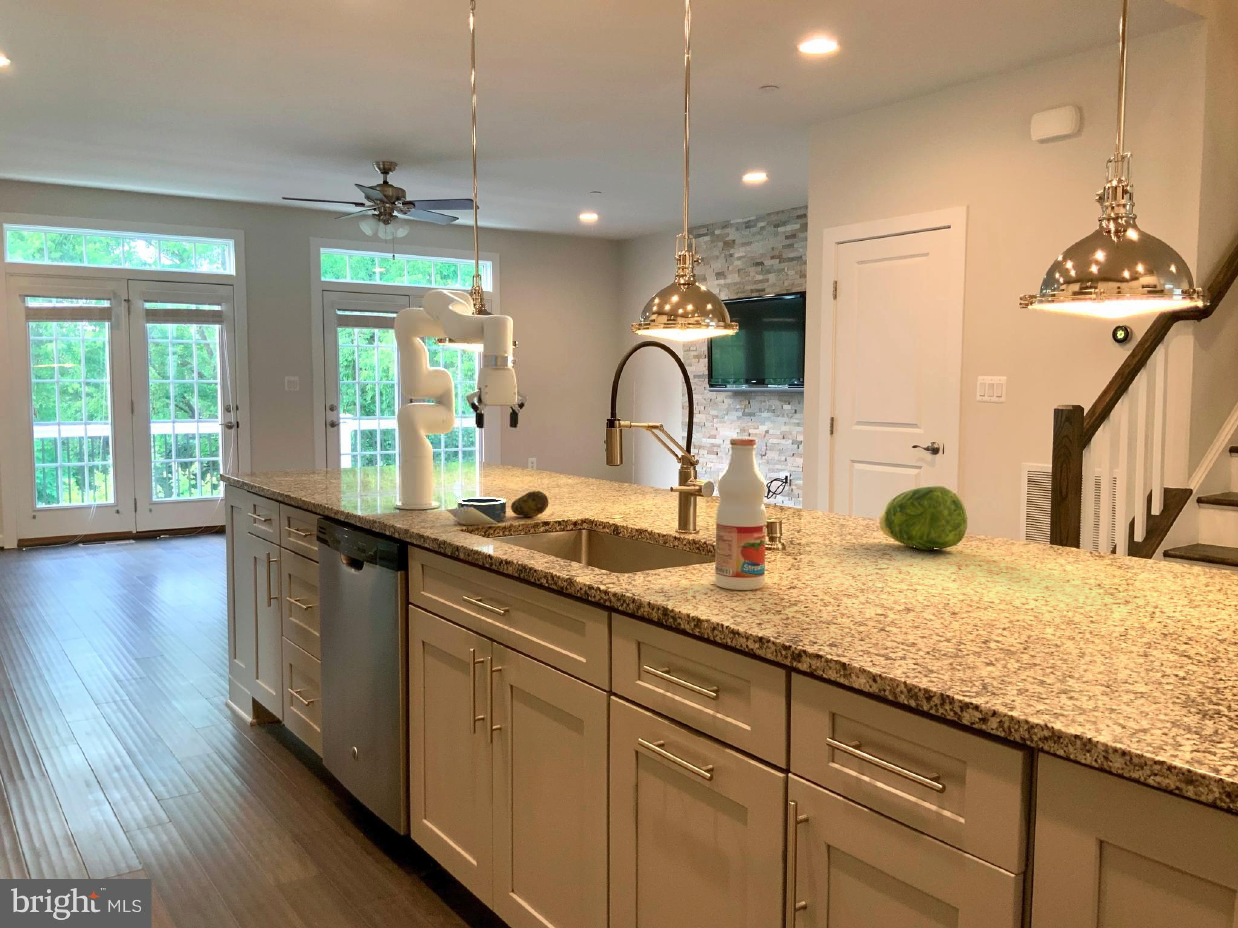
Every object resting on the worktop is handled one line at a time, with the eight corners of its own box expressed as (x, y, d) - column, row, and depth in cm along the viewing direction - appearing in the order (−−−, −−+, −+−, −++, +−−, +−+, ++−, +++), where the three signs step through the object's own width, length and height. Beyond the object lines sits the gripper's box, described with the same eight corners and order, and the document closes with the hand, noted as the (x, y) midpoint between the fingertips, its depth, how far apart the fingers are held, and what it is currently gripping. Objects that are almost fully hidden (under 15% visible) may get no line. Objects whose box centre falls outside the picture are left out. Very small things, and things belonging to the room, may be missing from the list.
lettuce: (914, 550, 233) (894, 492, 234) (988, 534, 217) (966, 472, 218) (876, 566, 223) (856, 506, 224) (950, 551, 207) (928, 486, 208)
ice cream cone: (497, 533, 248) (446, 519, 252) (502, 515, 249) (452, 501, 252) (491, 532, 243) (440, 517, 247) (496, 513, 244) (445, 499, 247)
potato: (535, 514, 271) (535, 486, 270) (552, 520, 259) (552, 491, 258) (508, 515, 267) (508, 488, 266) (524, 521, 255) (524, 493, 255)
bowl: (450, 518, 259) (450, 499, 259) (493, 515, 266) (493, 496, 266) (469, 525, 248) (469, 504, 248) (513, 521, 255) (513, 501, 255)
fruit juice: (725, 578, 183) (729, 437, 181) (771, 583, 179) (775, 438, 176) (706, 587, 175) (710, 439, 172) (754, 593, 170) (758, 441, 168)
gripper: (520, 363, 252) (519, 426, 253) (461, 362, 242) (460, 427, 244) (533, 363, 245) (532, 428, 247) (473, 362, 236) (472, 429, 238)
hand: (496, 427), depth 246 cm, fingers open, 9 cm apart
